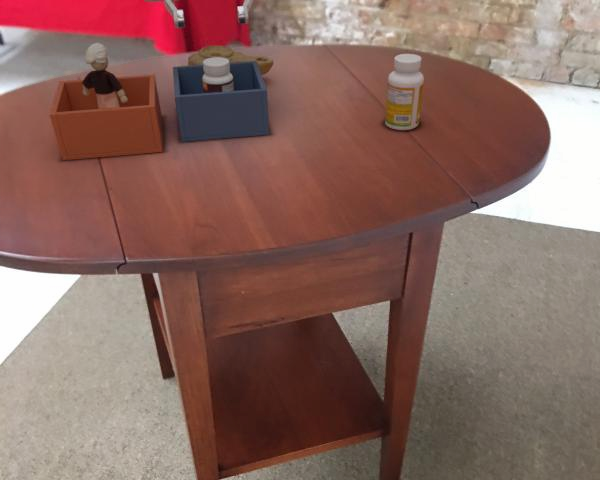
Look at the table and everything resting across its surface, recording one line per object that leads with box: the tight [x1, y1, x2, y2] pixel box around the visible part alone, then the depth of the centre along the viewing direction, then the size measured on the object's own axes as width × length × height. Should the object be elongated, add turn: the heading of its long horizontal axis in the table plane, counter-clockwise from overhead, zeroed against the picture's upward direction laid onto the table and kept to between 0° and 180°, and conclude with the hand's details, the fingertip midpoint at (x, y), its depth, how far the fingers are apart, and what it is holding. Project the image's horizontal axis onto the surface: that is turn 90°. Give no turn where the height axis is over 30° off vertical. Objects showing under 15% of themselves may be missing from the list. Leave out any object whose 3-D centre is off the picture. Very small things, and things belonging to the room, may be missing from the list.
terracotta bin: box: [49, 74, 164, 161], centre depth 96 cm, size 15×14×7 cm
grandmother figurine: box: [82, 42, 128, 109], centre depth 94 cm, size 8×4×13 cm, turn 78°
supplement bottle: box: [384, 53, 425, 131], centre depth 97 cm, size 5×5×10 cm
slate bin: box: [172, 61, 270, 143], centre depth 100 cm, size 14×14×7 cm
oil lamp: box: [187, 44, 274, 76], centre depth 114 cm, size 11×14×5 cm
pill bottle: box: [202, 57, 234, 93], centre depth 99 cm, size 5×5×8 cm
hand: (211, 23), depth 94 cm, fingers open, 8 cm apart
